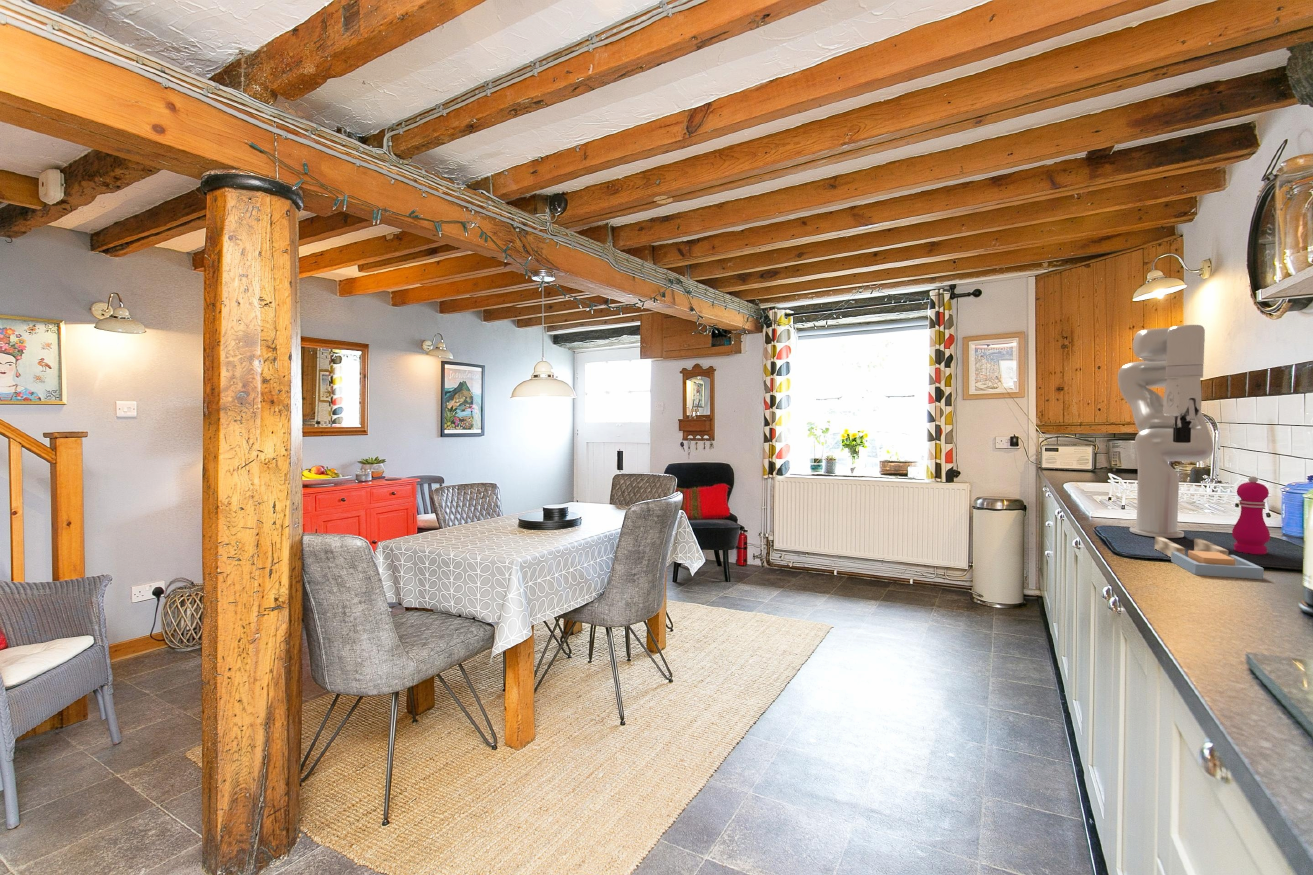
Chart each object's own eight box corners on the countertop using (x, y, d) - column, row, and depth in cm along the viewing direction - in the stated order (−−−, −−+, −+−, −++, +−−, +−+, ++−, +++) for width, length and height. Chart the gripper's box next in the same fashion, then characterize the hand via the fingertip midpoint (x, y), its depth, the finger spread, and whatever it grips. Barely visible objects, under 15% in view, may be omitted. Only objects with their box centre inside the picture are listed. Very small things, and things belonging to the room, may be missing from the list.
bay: (1171, 561, 153) (1171, 551, 153) (1233, 565, 149) (1234, 555, 149) (1194, 574, 142) (1195, 564, 141) (1263, 579, 137) (1263, 568, 137)
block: (1187, 566, 149) (1188, 550, 149) (1217, 568, 147) (1218, 552, 147) (1202, 574, 142) (1203, 557, 142) (1234, 576, 141) (1235, 559, 140)
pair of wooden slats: (1154, 549, 165) (1154, 536, 165) (1201, 552, 161) (1201, 539, 161) (1176, 561, 153) (1177, 547, 152) (1227, 564, 149) (1228, 550, 149)
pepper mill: (1252, 548, 164) (1256, 474, 163) (1277, 555, 157) (1281, 478, 156) (1223, 548, 165) (1226, 474, 164) (1246, 554, 158) (1250, 478, 157)
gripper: (1154, 374, 168) (1152, 440, 170) (1179, 372, 154) (1177, 444, 156) (1188, 373, 166) (1185, 440, 167) (1216, 371, 152) (1214, 444, 153)
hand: (1181, 442), depth 161 cm, fingers closed
